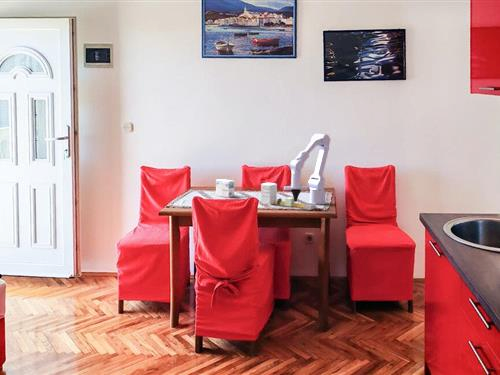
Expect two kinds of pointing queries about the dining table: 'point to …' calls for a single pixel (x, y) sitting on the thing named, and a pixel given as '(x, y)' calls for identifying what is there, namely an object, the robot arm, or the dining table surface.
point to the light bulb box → (225, 188)
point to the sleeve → (289, 201)
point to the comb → (310, 206)
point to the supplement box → (268, 193)
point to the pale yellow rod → (280, 202)
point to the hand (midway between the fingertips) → (295, 201)
